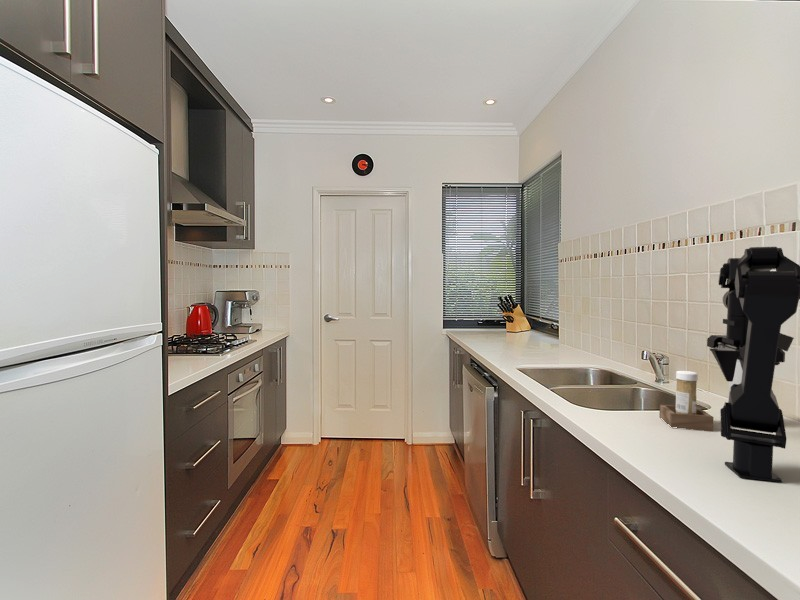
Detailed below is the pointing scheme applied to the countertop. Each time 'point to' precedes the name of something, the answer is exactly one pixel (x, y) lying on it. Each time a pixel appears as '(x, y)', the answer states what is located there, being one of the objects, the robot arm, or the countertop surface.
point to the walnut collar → (686, 418)
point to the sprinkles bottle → (686, 392)
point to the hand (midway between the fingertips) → (740, 386)
